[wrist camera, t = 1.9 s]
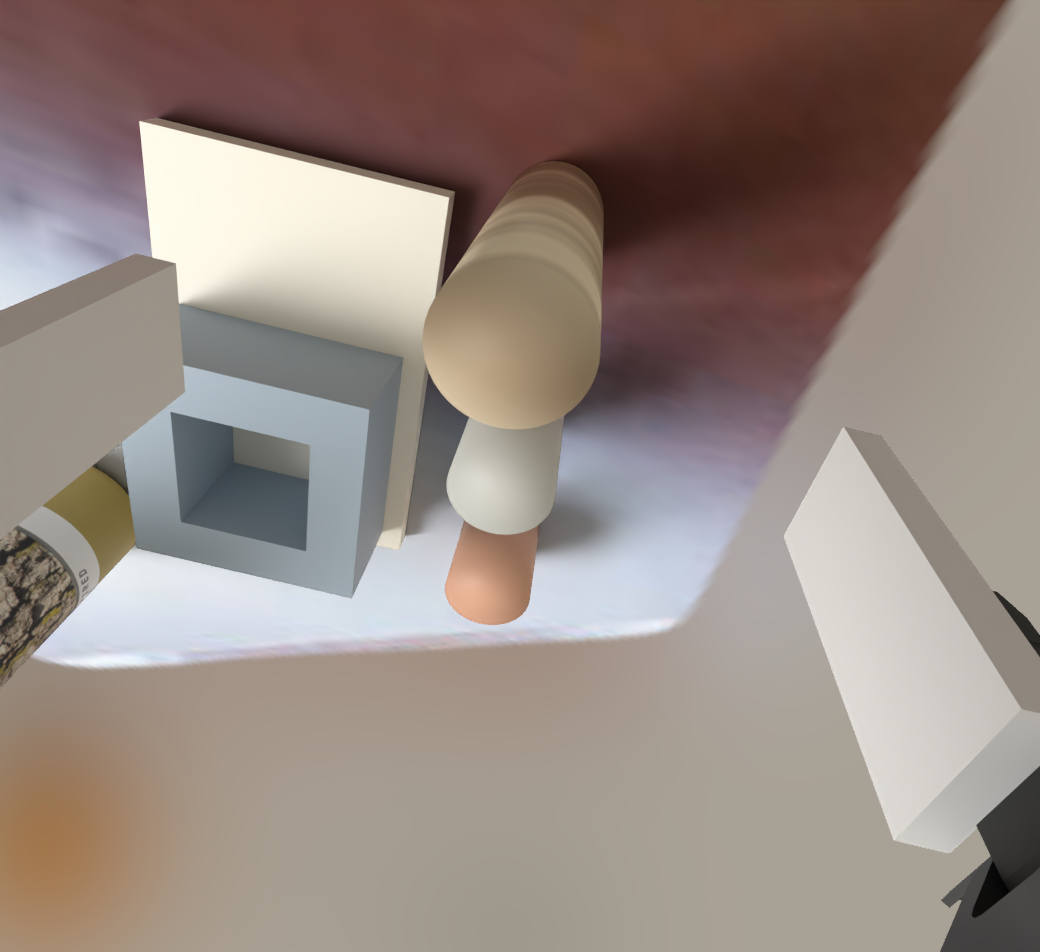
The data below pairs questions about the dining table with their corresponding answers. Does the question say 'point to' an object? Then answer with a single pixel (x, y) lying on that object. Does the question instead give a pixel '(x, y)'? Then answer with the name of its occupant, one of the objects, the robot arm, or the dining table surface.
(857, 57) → the dining table surface
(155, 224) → the socket board
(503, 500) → the medium dowel
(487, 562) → the short dowel
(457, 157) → the dining table surface
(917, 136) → the dining table surface
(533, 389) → the long dowel
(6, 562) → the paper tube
